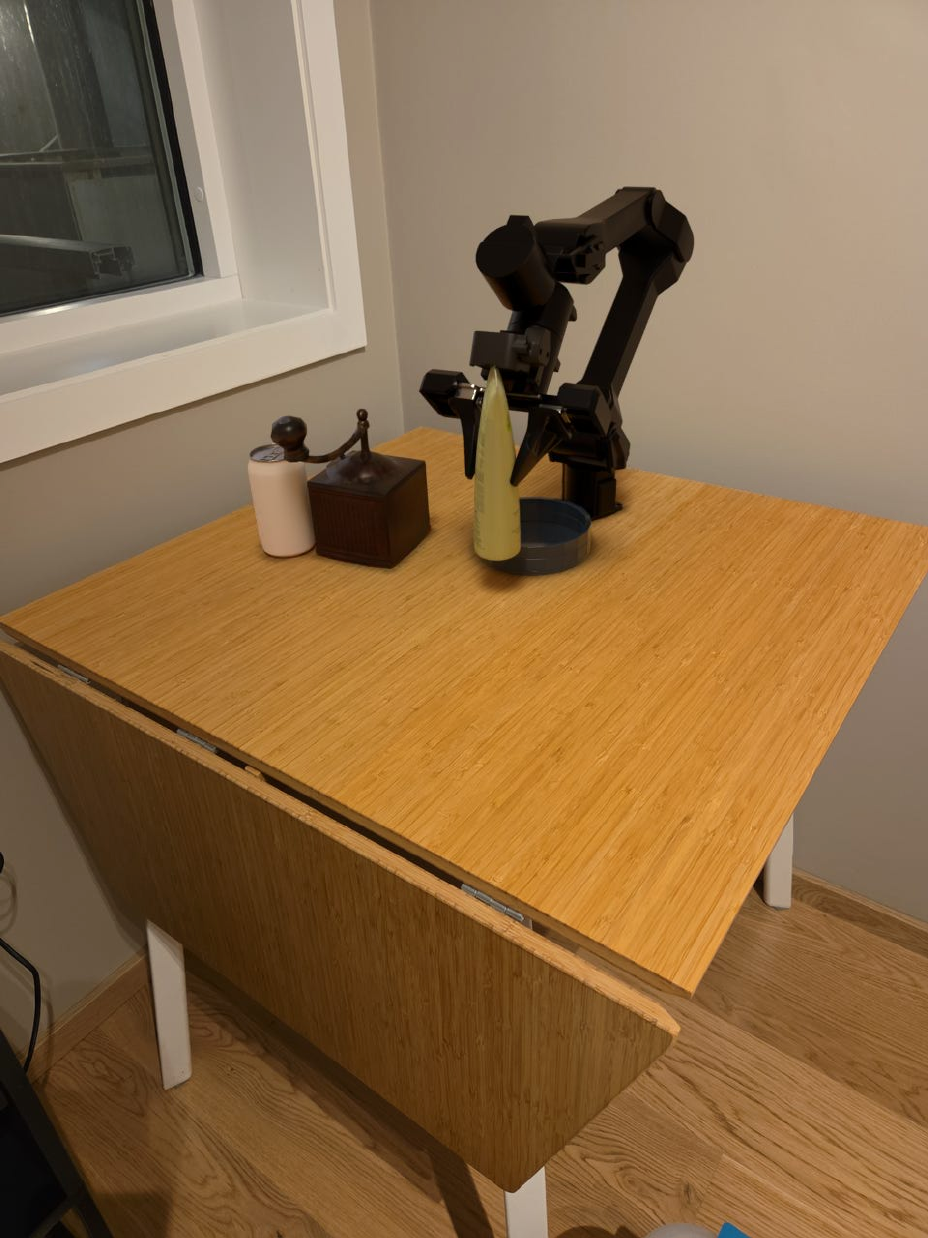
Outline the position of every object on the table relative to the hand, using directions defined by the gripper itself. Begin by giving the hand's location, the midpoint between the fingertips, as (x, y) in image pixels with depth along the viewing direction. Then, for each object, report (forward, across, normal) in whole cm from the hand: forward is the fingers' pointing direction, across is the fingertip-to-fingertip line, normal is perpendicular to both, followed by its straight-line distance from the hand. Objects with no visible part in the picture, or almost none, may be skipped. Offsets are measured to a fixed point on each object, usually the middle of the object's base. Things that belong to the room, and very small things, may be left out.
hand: (490, 481), depth 88 cm
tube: (+5, 0, +8) cm, 9 cm away
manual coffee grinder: (+7, -19, +12) cm, 24 cm away
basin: (+1, -1, +18) cm, 18 cm away
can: (+8, -28, +11) cm, 31 cm away
